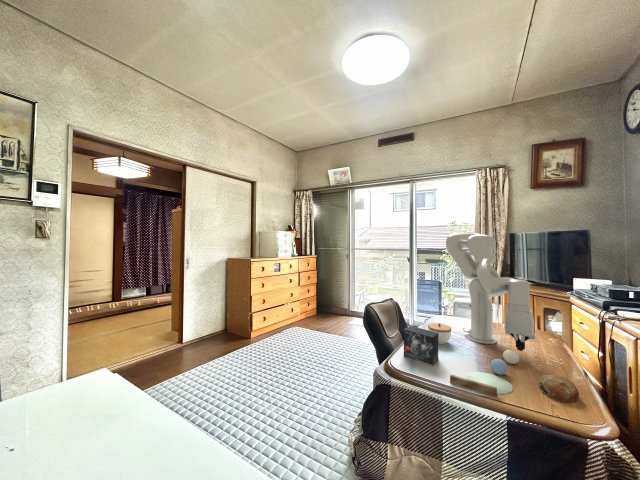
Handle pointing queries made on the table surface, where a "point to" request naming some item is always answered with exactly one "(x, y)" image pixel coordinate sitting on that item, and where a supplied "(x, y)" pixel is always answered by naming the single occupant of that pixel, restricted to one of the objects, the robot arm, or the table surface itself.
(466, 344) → the table surface
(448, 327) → the lidded jar
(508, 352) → the cue ball
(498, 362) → the blue ball
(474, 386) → the walnut rail
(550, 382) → the bread roll
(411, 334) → the small box
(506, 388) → the mint mark
